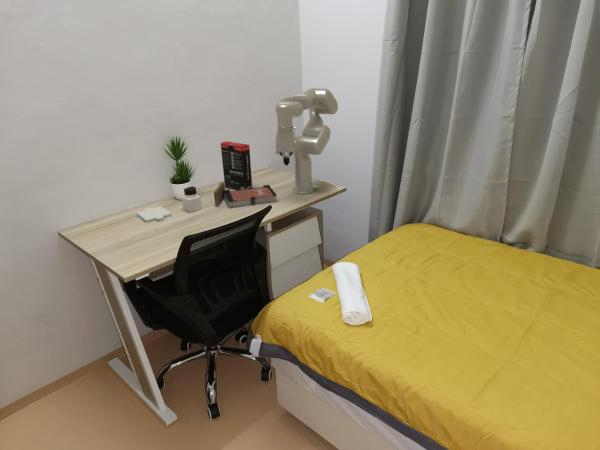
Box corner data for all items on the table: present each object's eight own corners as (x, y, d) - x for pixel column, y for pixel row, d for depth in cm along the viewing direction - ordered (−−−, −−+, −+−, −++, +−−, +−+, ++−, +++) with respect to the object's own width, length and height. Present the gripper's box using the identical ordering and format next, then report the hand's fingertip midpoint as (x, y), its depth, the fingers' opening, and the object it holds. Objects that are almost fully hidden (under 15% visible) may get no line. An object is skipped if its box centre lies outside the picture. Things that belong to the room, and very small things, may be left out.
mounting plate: (135, 214, 205) (134, 211, 204) (160, 208, 212) (159, 204, 211) (148, 225, 192) (147, 221, 191) (174, 218, 200) (173, 214, 199)
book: (229, 209, 209) (228, 200, 207) (224, 198, 224) (223, 190, 222) (277, 203, 217) (277, 194, 214) (269, 192, 232) (268, 184, 230)
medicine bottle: (202, 208, 209) (199, 187, 204) (190, 212, 205) (187, 190, 200) (194, 205, 214) (191, 184, 209) (183, 209, 209) (179, 187, 204)
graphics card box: (253, 189, 237) (250, 143, 226) (246, 192, 231) (242, 146, 220) (231, 184, 245) (227, 140, 234) (223, 187, 240) (219, 142, 229)
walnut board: (225, 195, 227) (224, 182, 224) (218, 206, 212) (216, 192, 208) (222, 195, 227) (221, 182, 224) (215, 206, 212) (213, 192, 209)
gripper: (300, 127, 204) (301, 162, 212) (271, 128, 205) (273, 162, 212) (299, 130, 197) (300, 166, 205) (269, 131, 198) (271, 167, 206)
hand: (286, 164), depth 209 cm, fingers closed
